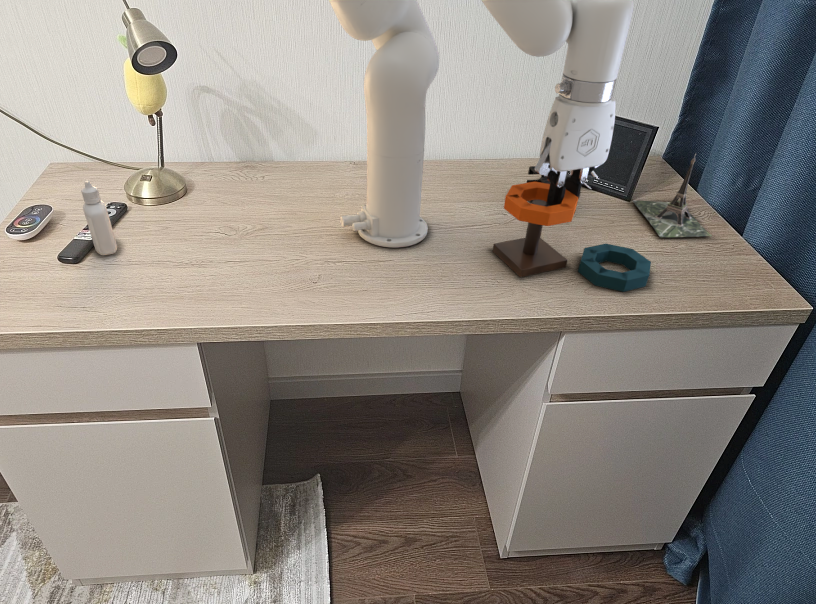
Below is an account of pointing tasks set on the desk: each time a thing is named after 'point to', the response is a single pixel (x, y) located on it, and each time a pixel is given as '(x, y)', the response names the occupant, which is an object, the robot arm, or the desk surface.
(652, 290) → the desk surface
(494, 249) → the peg stand
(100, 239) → the eye dropper bottle
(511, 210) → the orange ring
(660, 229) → the eiffel tower figurine
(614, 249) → the teal ring
